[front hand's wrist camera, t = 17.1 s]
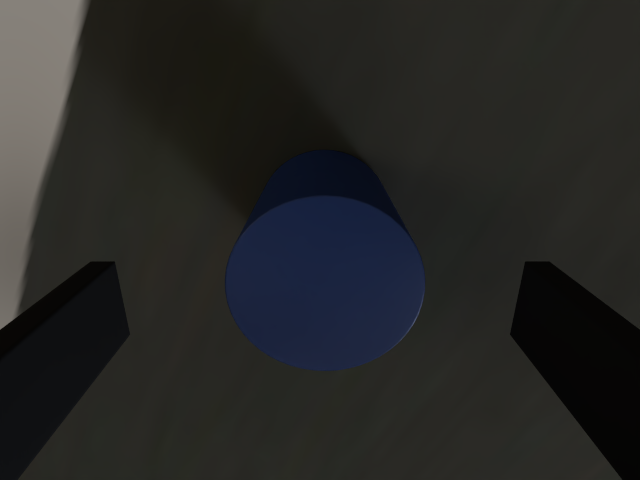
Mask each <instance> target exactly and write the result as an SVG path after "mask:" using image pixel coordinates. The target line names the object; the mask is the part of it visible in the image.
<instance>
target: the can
mask: <svg viewBox="0 0 640 480" xmlns="http://www.w3.org/2000/svg"><path fill="white" fill-rule="evenodd" d="M225 292H226V297H227V303H228V305H229V308H230V311H231V314H232V316H233V318H234V320H235V322H236V324H237V325H238V327H239V328H240V330H241V331H242V333H243V334H244V335H245V336H246V337H247V338H248V339H249V340H250V342H252V343H253V344H254V345H255V346H256V347H257V348H258V349H260V350H261V351H263V352H264V353H266V354H267V355H269V356H271V357H272V358H274V359H276V360H278V361H280V362H283V363H286V364H288V365H291V366H295V367H299V368H303V369H309V370H320V371H329V370H341V369H347V368H351V367H355V366H359V365H362V364H364V363H367V362H369V361H372V360H374V359H376V358H377V357H379V356H381V355H383V354H384V353H386V352H387V351H389V350H390V349H391V348H393V347H394V346H395V345H396V344H397V343H398V342H399V341H400V340H401V339H402V338H403V337H404V336H405V335H406V334H407V332H408V331H409V330H410V328H411V327H412V325H413V324H414V322H415V320H416V318H417V316H418V314H419V311H420V308H421V305H422V303H423V297H424V292H425V274H424V267H423V263H422V260H421V256H420V254H419V252H418V249H417V247H416V245H415V243H414V241H413V239H412V238H411V236H410V234H409V232H408V230H407V229H406V227H405V225H404V223H403V221H402V220H401V218H400V216H399V214H398V212H397V211H396V209H395V207H394V205H393V203H392V201H391V200H390V198H389V196H388V194H387V192H386V191H385V189H384V187H383V185H382V183H381V182H380V180H379V179H378V177H377V176H376V174H375V173H374V172H373V171H372V170H371V169H370V168H369V167H368V166H367V165H366V164H365V163H363V162H362V161H360V160H359V159H357V158H355V157H353V156H351V155H349V154H346V153H343V152H338V151H333V150H315V151H310V152H306V153H303V154H300V155H298V156H296V157H294V158H292V159H290V160H288V161H287V162H285V163H284V164H283V165H282V166H281V167H279V168H278V169H277V170H276V171H275V173H274V174H273V175H272V176H271V178H270V179H269V181H268V183H267V184H266V186H265V188H264V190H263V192H262V194H261V196H260V198H259V200H258V201H257V203H256V205H255V207H254V209H253V211H252V213H251V215H250V217H249V219H248V220H247V222H246V224H245V226H244V228H243V230H242V232H241V234H240V236H239V237H238V239H237V241H236V243H235V245H234V247H233V250H232V252H231V254H230V256H229V260H228V264H227V267H226V275H225Z"/></svg>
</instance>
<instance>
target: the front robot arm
mask: <svg viewBox="0 0 640 480" xmlns="http://www.w3.org/2000/svg"><path fill="white" fill-rule="evenodd" d="M129 335H130V332H129V328H128V323H127V318H126V313H125V308H124V304H123V299H122V294H121V289H120V285H119V280H118V275H117V270H116V265H115V262H90V263H88V264H87V265H86V266H84V267H83V268H82V269H80V270H79V271H78V272H76V273H75V274H74V275H72V276H71V277H70V278H68V279H67V280H66V281H64V282H63V283H62V284H60V285H59V286H58V287H56V288H55V289H54V290H52V291H51V292H50V293H48V294H47V295H46V296H44V297H43V298H42V299H40V300H39V301H38V302H36V303H35V304H34V305H32V306H31V307H30V308H29V309H27V310H26V311H25V312H23V313H22V314H21V315H19V316H18V317H17V318H15V319H14V320H13V321H11V322H10V323H9V324H7V325H6V326H5V327H3V328H2V329H1V330H0V480H18V478H19V477H20V476H21V475H22V473H23V472H24V471H25V469H26V468H27V467H28V466H29V464H30V463H31V462H32V460H33V459H34V458H35V457H36V455H37V454H38V453H39V451H40V450H41V449H42V447H43V446H44V445H45V444H46V442H47V441H48V440H49V438H50V437H51V436H52V435H53V433H54V432H55V431H56V429H57V428H58V427H59V426H60V424H61V423H62V422H63V420H64V419H65V418H66V416H67V415H68V414H69V413H70V411H71V410H72V409H73V407H74V406H75V405H76V404H77V402H78V401H79V400H80V398H81V397H82V396H83V394H84V393H85V392H86V391H87V389H88V388H89V387H90V385H91V384H92V383H93V382H94V380H95V379H96V378H97V376H98V375H99V374H100V373H101V371H102V370H103V369H104V367H105V366H106V365H107V363H108V362H109V361H110V360H111V358H112V357H113V356H114V354H115V353H116V352H117V351H118V349H119V348H120V347H121V345H122V344H123V343H124V341H125V340H126V339H127V338H128V336H129ZM510 335H511V336H512V338H513V339H514V340H515V342H516V343H517V344H518V345H519V347H520V348H521V349H522V351H523V352H524V353H525V354H526V356H527V357H528V358H529V360H530V361H531V362H532V363H533V365H534V366H535V367H536V369H537V370H538V371H539V373H540V374H541V375H542V376H543V378H544V379H545V380H546V382H547V383H548V384H549V385H550V387H551V388H552V389H553V391H554V392H555V393H556V394H557V396H558V397H559V398H560V400H561V401H562V402H563V404H564V405H565V406H566V407H567V409H568V410H569V411H570V413H571V414H572V415H573V416H574V418H575V419H576V420H577V422H578V423H579V424H580V426H581V427H582V428H583V429H584V431H585V432H586V433H587V435H588V436H589V437H590V438H591V440H592V441H593V442H594V444H595V445H596V446H597V447H598V449H599V450H600V451H601V453H602V454H603V455H604V457H605V458H606V459H607V460H608V462H609V463H610V464H611V466H612V467H613V468H614V469H615V471H616V472H617V473H618V475H619V476H620V477H621V478H622V480H640V330H639V329H638V328H637V327H635V326H634V325H633V324H631V323H630V322H629V321H627V320H626V319H625V318H623V317H622V316H621V315H619V314H618V313H617V312H615V311H614V310H613V309H611V308H610V307H609V306H608V305H606V304H605V303H604V302H602V301H601V300H600V299H598V298H597V297H596V296H594V295H593V294H592V293H590V292H589V291H588V290H586V289H585V288H584V287H582V286H581V285H580V284H578V283H577V282H576V281H574V280H573V279H572V278H570V277H569V276H568V275H566V274H565V273H564V272H562V271H561V270H560V269H558V268H557V267H556V266H554V265H553V264H552V263H550V262H525V265H524V270H523V275H522V280H521V285H520V289H519V294H518V299H517V304H516V308H515V313H514V318H513V323H512V328H511V332H510Z"/></svg>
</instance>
